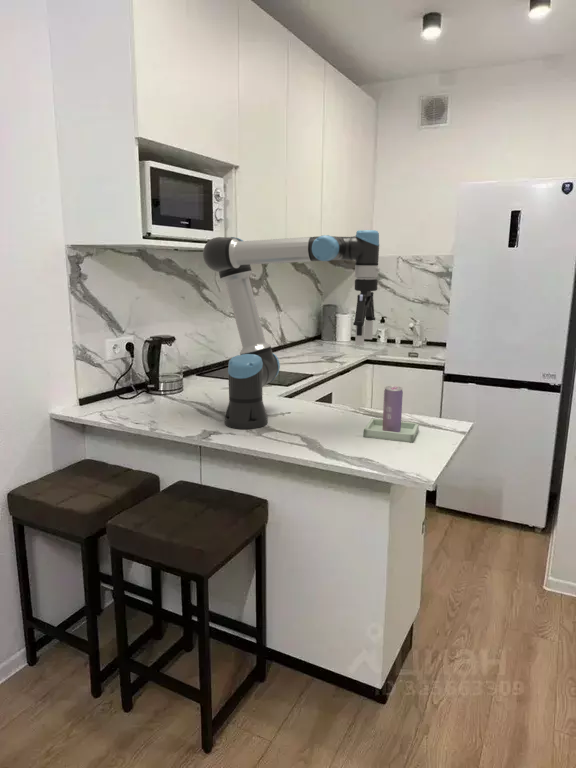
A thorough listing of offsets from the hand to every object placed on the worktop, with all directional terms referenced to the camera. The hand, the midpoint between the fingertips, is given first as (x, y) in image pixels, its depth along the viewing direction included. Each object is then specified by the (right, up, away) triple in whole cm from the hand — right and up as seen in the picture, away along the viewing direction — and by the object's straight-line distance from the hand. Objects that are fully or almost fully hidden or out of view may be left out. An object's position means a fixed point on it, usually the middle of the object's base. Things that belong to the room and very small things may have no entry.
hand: (364, 342), depth 188 cm
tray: (+9, -31, -4) cm, 32 cm away
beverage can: (+8, -30, -5) cm, 32 cm away
